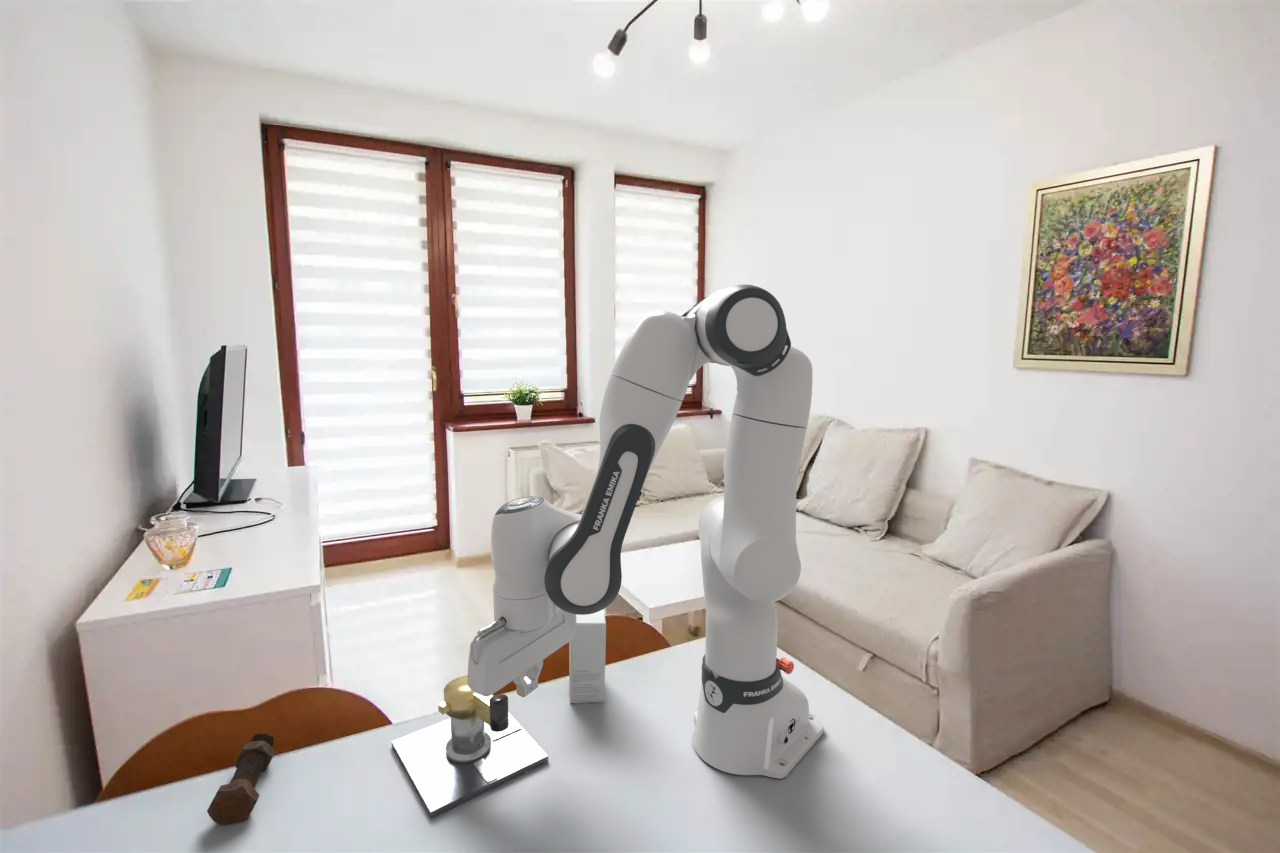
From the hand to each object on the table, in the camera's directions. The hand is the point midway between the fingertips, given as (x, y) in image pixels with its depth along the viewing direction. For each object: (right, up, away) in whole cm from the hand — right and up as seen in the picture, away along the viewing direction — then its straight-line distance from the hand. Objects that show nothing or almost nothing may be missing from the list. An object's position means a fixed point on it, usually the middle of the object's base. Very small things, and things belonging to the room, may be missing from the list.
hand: (527, 691), depth 91 cm
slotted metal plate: (-10, -11, +2) cm, 15 cm away
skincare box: (+7, -9, +19) cm, 23 cm away
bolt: (-39, -12, -4) cm, 41 cm away
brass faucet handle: (-7, -3, -1) cm, 8 cm away
